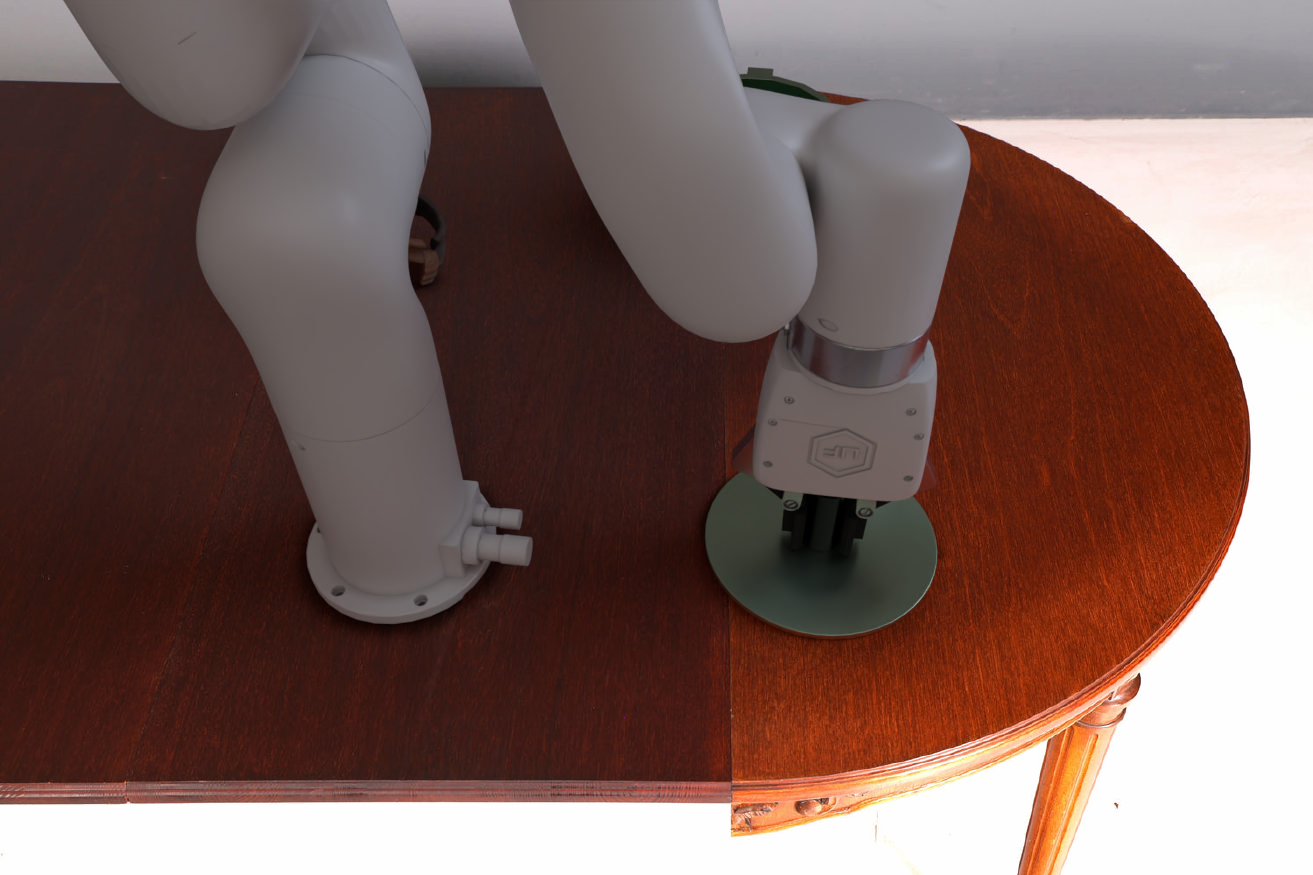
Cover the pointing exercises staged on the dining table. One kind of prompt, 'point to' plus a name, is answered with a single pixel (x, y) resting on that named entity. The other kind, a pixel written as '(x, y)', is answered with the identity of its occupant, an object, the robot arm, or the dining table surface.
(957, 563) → the dining table surface
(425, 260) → the pottery mug
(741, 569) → the lid
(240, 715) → the dining table surface
